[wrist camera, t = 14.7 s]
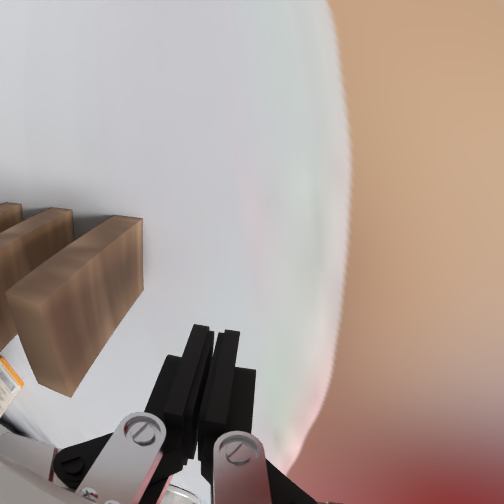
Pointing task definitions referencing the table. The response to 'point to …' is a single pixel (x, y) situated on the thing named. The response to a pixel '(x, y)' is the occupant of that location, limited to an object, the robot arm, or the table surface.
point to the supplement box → (8, 385)
